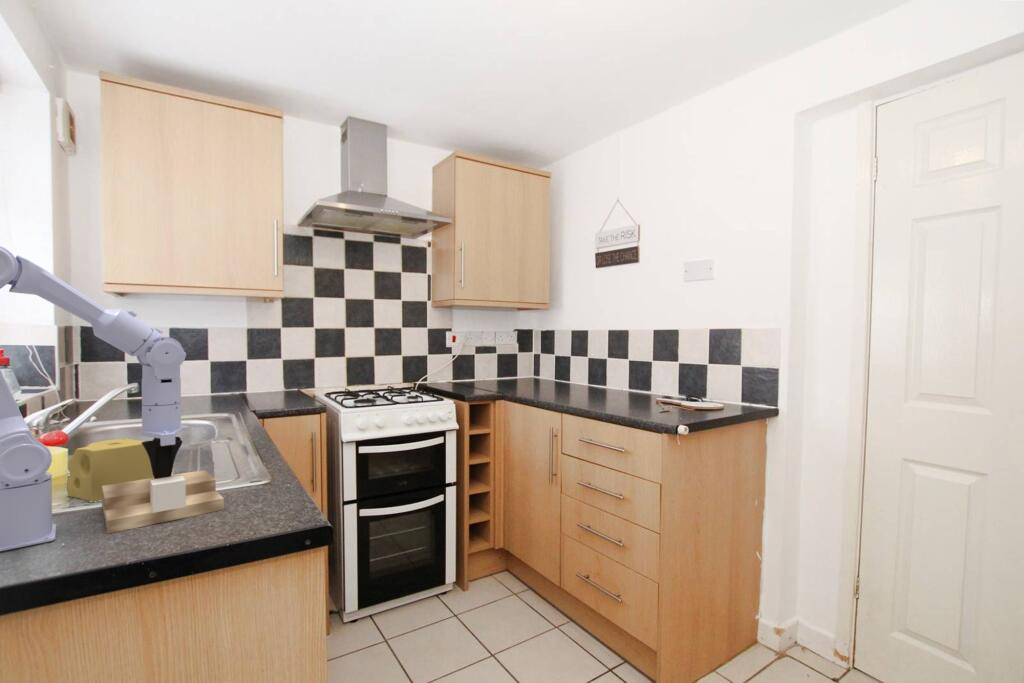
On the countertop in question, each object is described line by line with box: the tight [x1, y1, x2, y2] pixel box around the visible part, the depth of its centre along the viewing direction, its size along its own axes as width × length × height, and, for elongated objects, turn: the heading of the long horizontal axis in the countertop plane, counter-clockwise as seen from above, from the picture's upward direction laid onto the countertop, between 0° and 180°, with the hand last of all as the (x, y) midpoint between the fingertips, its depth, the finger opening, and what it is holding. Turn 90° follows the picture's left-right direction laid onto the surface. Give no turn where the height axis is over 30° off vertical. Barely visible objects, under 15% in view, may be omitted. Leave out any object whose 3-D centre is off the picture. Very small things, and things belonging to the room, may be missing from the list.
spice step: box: [101, 469, 225, 534], centre depth 88 cm, size 16×16×4 cm
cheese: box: [66, 437, 154, 503], centre depth 99 cm, size 10×11×10 cm
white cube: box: [150, 475, 186, 513], centre depth 83 cm, size 4×4×4 cm
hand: (162, 480), depth 88 cm, fingers closed
